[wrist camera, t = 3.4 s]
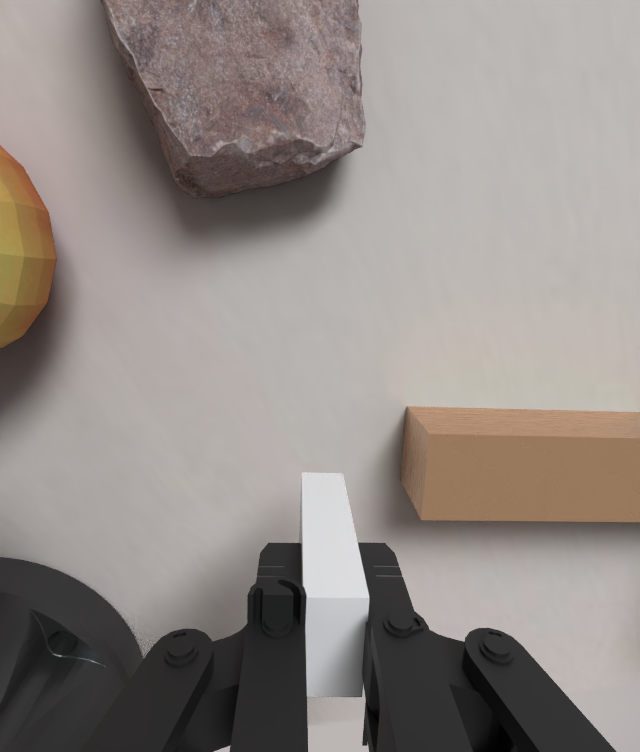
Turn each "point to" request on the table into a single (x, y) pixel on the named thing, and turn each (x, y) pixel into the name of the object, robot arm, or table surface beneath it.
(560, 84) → the table surface
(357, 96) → the stone
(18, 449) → the table surface
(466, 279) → the table surface
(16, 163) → the apple
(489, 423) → the block
